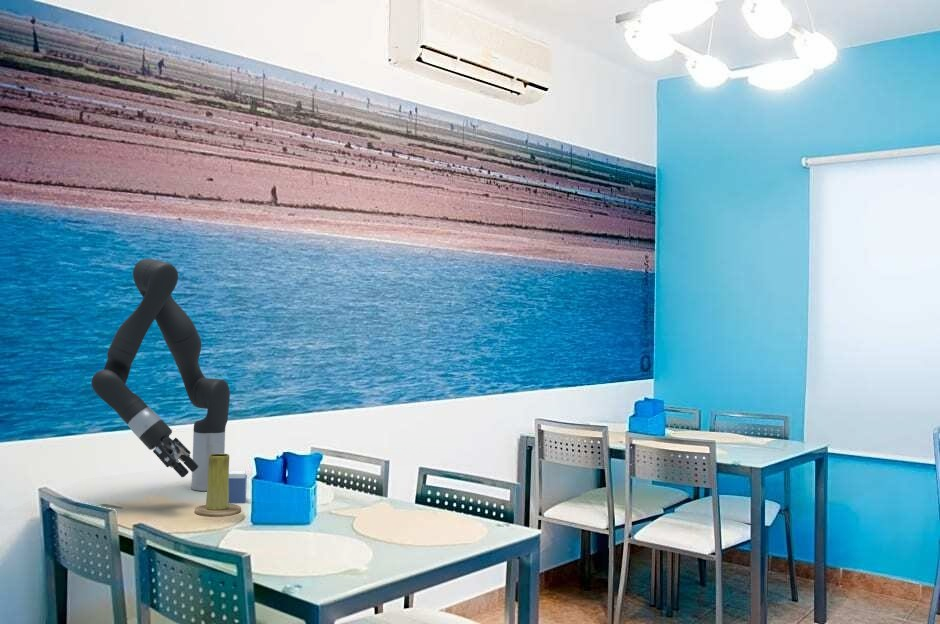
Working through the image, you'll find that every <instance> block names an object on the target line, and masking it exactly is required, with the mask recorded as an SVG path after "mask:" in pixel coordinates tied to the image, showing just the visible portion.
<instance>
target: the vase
mask: <svg viewBox="0 0 940 624" xmlns="http://www.w3.org/2000/svg"><path fill="white" fill-rule="evenodd" d="M229 472H230V454H228V453H224V454H223V453H217V454H210V455H209V470H208V488H207V491H206V498H205V499H206V501H205V505H206V509H208V510H224V509H228V508H229V504H230V503H229Z"/></svg>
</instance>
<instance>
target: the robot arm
mask: <svg viewBox="0 0 940 624" xmlns="http://www.w3.org/2000/svg"><path fill="white" fill-rule="evenodd" d="M178 273H179V272H178V269H177V268H176V267H175V265H173V264H171V263H169V262H166V261H162V260H158V259H152V258H143V259H141V260H139V261H137V262H136V264H135V265H134V268H133V270H132V278H133V282H134V285H135V287H136V288H137V290H138V292H139V293H140V294H141V296H142V297H143V298H142V300H141V302H140V304H139V305H138V306H137V308H136V309H135V310H134V311H133V312H132V313H131V314H130V315H129V316H128V317H127V318H126V319H125V320H124V321H123V322H122V323H121V325H120V326H119V327H118V329H117V331H116V332H115V335H114V337H113V339H112V341H111V343H110V346H109V348H108V350H107V353H106V354H107V355H106V357H107V360H106V361H105V365H104V367H103V369H101V370H98V371H96V373H95V374H94V375H93V376H92V378H91V381H90V382H91V387H92V390H93V391H94V393H95V394H97V396H98V397H99V398H100V399H101V400H102V401H104V402H105V403H106V404H107V405H108V406H109V407H110V408H112V409H113V410H114V411H115V412H116V414H117V415H118V416H119V417H120V418H121V419H122V420H123V421H124V422H125V423H126V425H127V426H128V427H129V429H130V430H131V432H132V433H133V434H134V435H135V436H136V437H137V438H138V439H139V440H140V441H141V442H142V443H143V444H144V446H145V447H146V448H147V449H148V450H149V451H152V452H153V454H154V455H156V456H157V458H158V459H159V460H160V461H161V462H162V464H163V465H165V467H166V468H169V467H170V469H173V470H174V471H175V473H177V474H178V475H179V476H180V478H185V477H186V476H187V475H188V474H189V472H190V471H191V487H190V488H191V490H193V491H201V492H207V488H208V470H209V455H210V454H217V453H223V454H225V447H226V444H225V443H226V426H227V423H228V420H229V409H230V397H231V390H230V387H229V384H228V382H227V381H226V380H224V379H220V378H207V377H205V375H204V373H203V372H202V370H201V367H200V364H199V360H200V359H199V358H200V355H201V351H202V340H201V336H200V335H199V332H198V330H197V327H196V325H195V324H194V322H193V321H192V319H191V317H190V316H189V315H188V314H187V313H186V311H185V310H184V309H183V308H182V307H181V306H180V305H179V304H178V303H177V302H176V300H175V299H174V297H173V296H172V293H173V292H174V290H175V288H176V286H177V284H178V281H179V274H178ZM154 321H155V322H156V324H157V326H158V329H159V331H160V332H161V335H162V337H163V339H164V341H165V342H164V343H165V344H166V346H167V348H168V350H169V352H170V354H171V356H172V358H173V359H174V362H175V364H176V366H177V369H178V371H179V373H180V376H181V379H182V383H183V385H184V388H185V391H186V394H187V397H188V399H189V401H190V403H191V404H192V405H193V406H194V407H195V408H199V409H205V410H207V411H206V416H204V418H202V419H200V420H196V421H195V422H194V423H193V435H192V437H193V439H192V440H193V442H192V457H191V451H190V450H189V449H188V448H187V447H186V446H185V445H184V444H183V443H182V442H181V441H180V440H179V439H178V437H175V438H173V439H172V438H171V437H170V435H172V433H173V429H172V428H170V426H168V424H167V423H166V422H165V421H164V420H163V419H162V417H160V416H159V415H158V413H156V412H155V411H154V410H153V409H151V407H150V406H149V405H148V404H147V403H146V402H145V401H144V400H143V399H142V398H141V397H140V396H139V395H137V394H136V393H135V392H133V391H132V390H131V389H130V388H129V387H128V386H127V381H128V378H129V376H130V372H131V367H132V364H133V363H134V362H133V361H134V360H135V359H136V356H137V354H138V351H139V350H140V347H141V346H142V345H141V344H142V343H143V340H144V339H145V337H146V334H147V333H148V331H149V329H150V328H151V326H152V324H153V323H154ZM185 466H186V467H187V468H188V469H187V468H186V467H185ZM189 470H190V471H189Z"/></svg>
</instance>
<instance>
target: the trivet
mask: <svg viewBox="0 0 940 624" xmlns="http://www.w3.org/2000/svg"><path fill="white" fill-rule="evenodd" d="M241 512H242V507H241V505H239V504H236V503H229V508H228V509H224V510H208V509H206V504H201V505H198V506H196V507H195V508H194V513H195V514H196V515H198V516H203V517H213V518H214V517H228V516H234V515H237V514H240V513H241Z"/></svg>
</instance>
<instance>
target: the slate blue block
mask: <svg viewBox="0 0 940 624" xmlns="http://www.w3.org/2000/svg"><path fill="white" fill-rule="evenodd" d="M247 479H248V475H247V471H245V470H229V504H245V503H246V501H247V489H248V488H247V485H248V483H247V482H248V480H247Z"/></svg>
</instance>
